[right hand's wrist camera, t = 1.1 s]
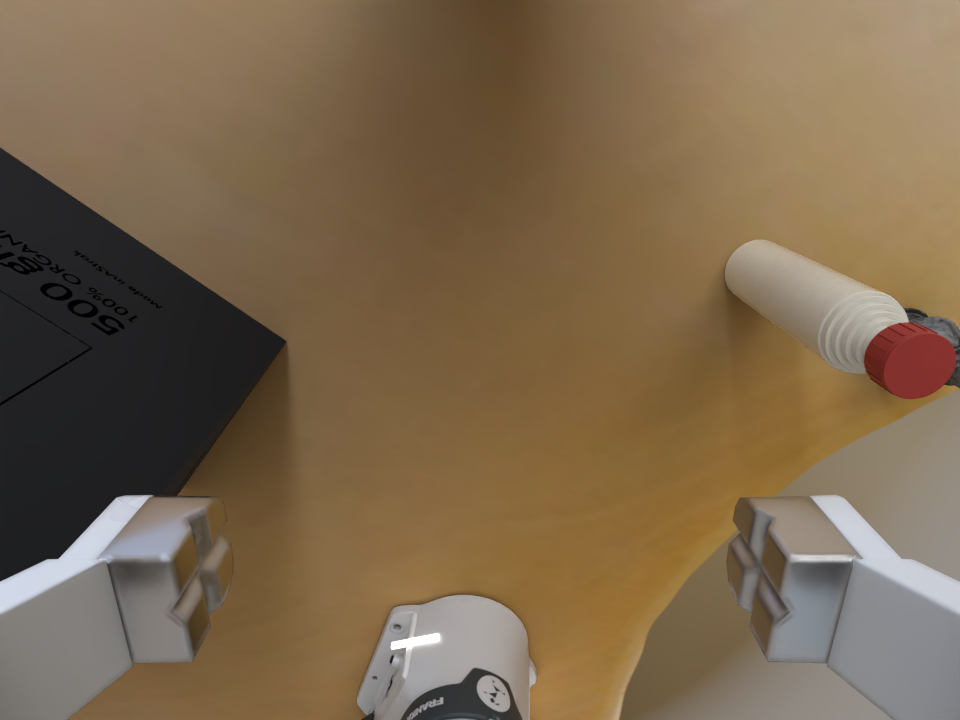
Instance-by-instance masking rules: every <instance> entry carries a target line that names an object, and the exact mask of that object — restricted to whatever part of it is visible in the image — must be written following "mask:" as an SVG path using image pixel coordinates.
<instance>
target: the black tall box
mask: <svg viewBox="0 0 960 720" xmlns="http://www.w3.org/2000/svg"><path fill="white" fill-rule="evenodd" d="M3 235H5V237H4V238H3V239H2V236H3ZM9 238H12V239H13V242H14V243H13V245H12V244H11V243H12V240H11V239H9ZM16 242H19V243H20V244H17V245H15V246H14V244H15V243H16ZM25 247H26V251H28V252H23V251H22V250H24V251H25ZM29 250H31V252H30V251H29ZM37 256H40V257H41V258H42V259H41V258H38V257H37ZM34 258H36V261H35V260H34ZM19 260H22V261H24V263H25V265H24V264H23V263H22V262H20V261H19ZM35 262H36V263H38V264H39V265H37V264H36V263H35ZM17 263H18V264H20V265H21V266H24V267H23V268H22V267H20V266H16V265H17ZM41 263H44V264H41ZM45 263H47V264H51V265H45ZM28 265H30V266H32V268H33V272H30V271H31V268H30V267H27V266H28ZM52 267H54V269H53V270H52V271H53V272H52V271H51V268H52ZM56 267H58V268H59V270H60V273H57V272H56V271H58V269H56ZM25 268H27V273H30V274H29V275H27V274H26V273H25V271H24V270H25ZM35 271H37V272H36V273H34V272H35ZM62 274H65V275H66V277H65V276H63V277H65V279H64V278H63V277H62ZM67 281H70V282H74V283H69V282H67ZM76 282H77V284H75V283H76ZM79 282H80V283H81V284H79ZM46 283H48V284H50V283H51V285H50V287H49V286H48V285H47V284H46ZM54 283H56V285H55V287H52V286H53V284H54ZM78 284H79V285H78ZM58 285H60V286H58ZM0 290H1V291H3V292H4V293H6V294H7V295H9V296H11V297H12V298H14V299H15V300H17V301H19V302H20V303H22V304H23V305H25V306H27V307H28V308H26V307H25V306H23V305H21V304H20V303H18V302H17V301H15V300H13V299H12V298H10V297H9V296H7V295H5V294H4V293H2V292H1V291H0V582H1V581H3V580H5V579H7V578H9V577H11V576H13V575H15V574H18V573H20V572H22V571H24V570H26V569H28V568H30V567H32V566H34V565H37V564H39V563H41V562H43V561H45V560H47V559H59V558H60V557H61V556H62V555H63V554H64V553H65V551H66V550H67V549H68V548H69V547H70V546H71V545H72V544H73V543H74V542H75V541H76V540H77V539H78V538H79V537H80V536H81V535H82V533H83V532H84V531H85V530H86V529H87V528H88V527H89V526H90V525H91V524H92V523H93V522H94V521H95V520H96V519H97V518H98V517H99V515H100V514H101V513H102V512H103V511H104V510H105V509H106V508H107V507H108V506H109V505H110V504H111V503H112V502H113V501H114V500H115V499H116V498H117V497H121V496H125V495H153V496H157V495H160V496H177V495H178V493H179V492H180V491H181V489H182V488H183V487H184V485H185V484H186V482H187V481H188V480H189V478H190V477H191V475H192V474H193V472H194V471H195V470H196V468H197V467H198V465H199V464H200V463H201V461H202V460H203V458H204V457H205V456H206V454H207V453H208V451H209V450H210V449H211V447H212V446H213V444H214V443H215V442H216V440H217V439H218V437H219V436H220V434H221V433H222V432H223V430H224V429H225V427H226V426H227V425H228V423H229V422H230V420H231V419H232V418H233V416H234V415H235V413H236V412H237V411H238V409H239V408H240V406H241V405H242V404H243V402H244V401H245V399H246V398H247V396H248V395H249V394H250V392H251V391H252V389H253V388H254V387H255V385H256V384H257V382H258V381H259V380H260V378H261V377H262V375H263V374H264V373H265V371H266V370H267V368H268V367H269V366H270V364H271V363H272V361H273V360H274V358H275V357H276V356H277V354H278V353H279V351H280V350H281V349H282V347H283V346H284V344H285V343H286V342H287V341H285V340H284V339H282V338H281V337H279V336H278V335H276V334H275V333H273V332H272V331H270V330H269V329H267V328H266V327H265V326H263V325H262V324H260V323H259V322H257V321H256V320H254V319H253V318H251V317H250V316H248V315H247V314H245V313H244V312H242V311H241V310H239V309H238V308H236V307H235V306H233V305H232V304H230V303H229V302H228V301H226V300H225V299H223V298H222V297H220V296H219V295H217V294H216V293H214V292H213V291H211V290H210V289H208V288H207V287H205V286H204V285H202V284H201V283H199V282H198V281H196V280H195V279H193V278H192V277H191V276H189V275H188V274H186V273H185V272H183V271H182V270H180V269H179V268H177V267H176V266H174V265H173V264H171V263H170V262H168V261H167V260H165V259H164V258H162V257H161V256H159V255H158V254H157V253H155V252H154V251H152V250H151V249H149V248H148V247H146V246H145V245H143V244H142V243H140V242H139V241H137V240H136V239H134V238H133V237H131V236H130V235H128V234H127V233H125V232H124V231H122V230H121V229H120V228H118V227H117V226H115V225H114V224H112V223H111V222H109V221H108V220H106V219H105V218H103V217H102V216H100V215H99V214H97V213H96V212H94V211H93V210H91V209H90V208H88V207H87V206H85V205H84V204H83V203H81V202H80V201H78V200H77V199H75V198H74V197H72V196H71V195H69V194H68V193H66V192H65V191H63V190H62V189H60V188H59V187H57V186H56V185H54V184H53V183H51V182H50V181H48V180H47V179H46V178H44V177H43V176H41V175H40V174H38V173H37V172H35V171H34V170H32V169H31V168H29V167H28V166H26V165H25V164H23V163H22V162H20V161H19V160H17V159H16V158H14V157H13V156H11V155H10V154H9V153H7V152H6V151H4V150H3V149H1V148H0ZM42 292H43V293H45V294H42ZM49 296H50V297H51V299H50V298H48V297H49ZM31 310H33V311H35V312H36V313H38V314H39V315H41V316H43V317H44V318H46V319H47V320H49V321H47V320H45V319H44V318H42V317H41V316H39V315H37V314H36V313H34V312H33V311H31ZM71 311H72V312H71ZM75 313H77V314H78V315H80V316H81V317H80V316H78V315H75ZM52 323H54V324H55V325H57V326H59V327H60V328H62V329H60V328H58V327H57V326H55V325H53V324H52ZM90 323H92V324H93V325H91V324H90ZM70 334H71V335H73V336H75V337H76V338H78V339H79V340H78V339H76V338H74V337H73V336H71V335H70ZM68 361H69V363H68Z"/></svg>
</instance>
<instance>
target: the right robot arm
mask: <svg viewBox="0 0 960 720" xmlns="http://www.w3.org/2000/svg"><path fill="white" fill-rule="evenodd" d="M226 521H227V517H226V512H225V507H224V503H223V501H222V500H221V499H220V498H218V497H209V496H160V495H157V496H153V495H125V496H121V497H117V498H116V499H115V500H114V501H113V502H112V503H111V504H110V505H109V506H108V507H107V508H106V509H105V510H104V511H103V512H102V513H101V514H100V515H99V517H98V518H97V519H96V520H95V521H94V522H93V523H92V524H91V525H90V526H89V527H88V528H87V529H86V530H85V531H84V532H83V533H82V535H81V536H80V537H79V538H78V539H77V540H76V541H75V542H74V543H73V544H72V545H71V546H70V547H69V548H68V549H67V550H66V551H65V553H64V554H63V555H62V556H61V557H60V558H59V559H47V560H45V561H43V562H41V563H39V564H37V565H34V566H32V567H30V568H28V569H26V570H24V571H22V572H20V573H18V574H15V575H13V576H11V577H9V578H7V579H5V580H3V581H1V582H0V720H68V719H69V718H70V717H71V716H73V715H74V714H75V713H76V712H78V711H79V710H80V709H81V708H82V707H84V706H85V705H86V704H87V703H89V702H90V701H91V700H92V699H94V698H95V697H96V696H97V695H98V694H100V693H101V692H102V691H103V690H105V689H106V688H107V687H108V686H109V685H111V684H112V683H113V682H114V681H116V680H117V679H118V678H119V677H121V676H122V675H123V674H124V673H125V672H127V671H128V670H129V669H130V668H132V667H133V664H132V663H163V662H192V661H193V659H194V658H195V656H196V654H197V652H198V650H199V648H200V646H201V644H202V642H203V640H204V639H205V637H206V635H207V633H208V631H209V629H210V627H211V626H210V621H209V615H208V614H210V613H211V612H212V611H214V610H215V609H217V608H218V607H220V606H221V605H222V604H223V602H224V600H225V598H226V596H227V594H228V592H229V588H230V584H231V579H232V575H233V552H232V546H231V543H230V542H229V541H228V540H227V539H226V538H225V537H224V536H223V535H222V534H221V533H220V531H221V530H222V528H223V526H224V525H225V523H226ZM733 521H734V523H735V525H736V526H737V528H738V530H739V531H740V533H739V534H738V535H737V536H736V537H735V538H734V539H733V540H732V541H731V542H730V543H729V546H728V554H727V574H728V581H729V584H730V588H731V591H732V594H733V596H734V598H735V600H736V602H737V604H738V605H739V606H740V607H742V608H743V609H745V610H746V611H748V612H749V613H750V614H752V615H751V621H750V626H749V627H750V629H751V631H752V633H753V635H754V637H755V638H756V640H757V642H758V644H759V646H760V648H761V650H762V652H763V654H764V655H765V657H766V659H767V661H768V662H796V663H828V664H827V667H829V668H830V669H831V670H832V671H834V672H835V673H836V674H837V675H839V676H840V677H841V678H842V679H843V680H845V681H846V682H847V683H848V684H850V685H851V686H852V687H853V688H854V689H856V690H857V691H858V692H859V693H861V694H862V695H863V696H864V697H865V698H867V699H868V700H869V701H870V702H872V703H873V704H874V705H875V706H877V707H878V708H879V709H880V710H881V711H883V712H884V713H885V714H886V715H888V716H889V717H890V718H891V719H892V720H960V582H959V581H957V580H955V579H953V578H951V577H949V576H947V575H944V574H942V573H940V572H938V571H936V570H934V569H932V568H930V567H928V566H926V565H923V564H921V563H919V562H917V561H915V560H913V559H901V558H900V557H899V556H898V555H897V554H896V553H895V551H894V550H893V549H892V548H891V547H890V546H889V545H888V544H887V543H886V542H885V541H884V540H883V539H882V538H881V537H880V536H879V534H878V533H877V532H876V531H875V530H874V529H873V528H872V527H871V526H870V525H869V524H868V523H867V522H866V521H865V520H864V519H863V518H862V517H861V515H860V514H859V513H858V512H857V511H856V510H855V509H854V508H853V507H852V506H851V505H850V504H849V503H848V502H847V501H846V499H844V498H842V497H840V496H838V495H816V496H795V497H749V498H739V500H738V502H737V504H736V506H735V511H734V517H733Z"/></svg>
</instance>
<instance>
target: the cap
mask: <svg viewBox="0 0 960 720" xmlns="http://www.w3.org/2000/svg"><path fill="white" fill-rule="evenodd" d="M955 364H956V353H955V350H954V347H953V346H952V344H951V343H950V342H949V341H948V340H947V339H946V338H944V337H943V336H940V335H938V333H937V332H935V331H933V330H931V329H929V328H927V327H925V326H923V325H921V324H920V325H918V324H915V323H912V322H910V323H909V322H904V323H898V324H894V325H891V326H888V327H887V328H885V329H883V330H881V331H880V332H879V333H878V334H877V335H876V336H875V337H874V338H873V339H872V340H871V341H870V343H869V345H868V347H867V349H866V351H865V355H864V366H865V369H866V371H865V372H867V374H868V375H869V376H870V379H871V380H873V381H874V382H875V383H877V384H878V385H880V386H881V387H883V388H884V389H886V390H887V391H889V392H890V393H892V394H893V395H896V396H898V397H901V398H905V399H917V398H922V397H925V396H928V395H930V394H932V393H934V392H936V391H937V390H938V389H940V388H941V387H942V386H943V385H944V384H945V383H946V382H947V381H948V379H949V378H950V377H951V375H952V373H953V371H954V368H955Z"/></svg>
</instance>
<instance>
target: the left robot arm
mask: <svg viewBox="0 0 960 720" xmlns="http://www.w3.org/2000/svg"><path fill="white" fill-rule="evenodd" d="M396 624H398V625H399V626H397V625H396ZM536 680H537V670H536V667H535V665H534V664H533V662H532V660H531V659H530V657H529V645H528V636H527V632H526V630H525V627H524V625H523V624H522V622H521V621H520V619H519V618H518V617H517V616H516V615H515V614H514V613H513V612H512V611H511V610H510V609H508V608H507V607H505V606H504V605H502V604H500V603H498V602H496V601H494V600H491V599H488V598H485V597H480V596H474V595H453V596H447V597H443V598H439V599H436V600H434V601H431V602H428V603H425V604H421V605H402V606H397V607H395V608H393V609H392V610H391V612H390V614H389V617H388V619H387V622H386V624H385V627H384V629H383V632H382V634H381V637H380V639H379V642H378V644H377V647H376V649H375V652H374V654H373V657H372V659H371V662H370V664H369V666H368V669H367V671H366V674H365V676H364V679H363V681H362V684H361V686H360V689H359V692H358V695H357V704H358V706H359V707H360V709H361V710H362V711H363V712H364V713H365V714H366V715H367V716H366V717H365V718H363V719H362V720H529V714H530V687H531V686H533V685H534V684H535V683H536Z"/></svg>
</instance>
